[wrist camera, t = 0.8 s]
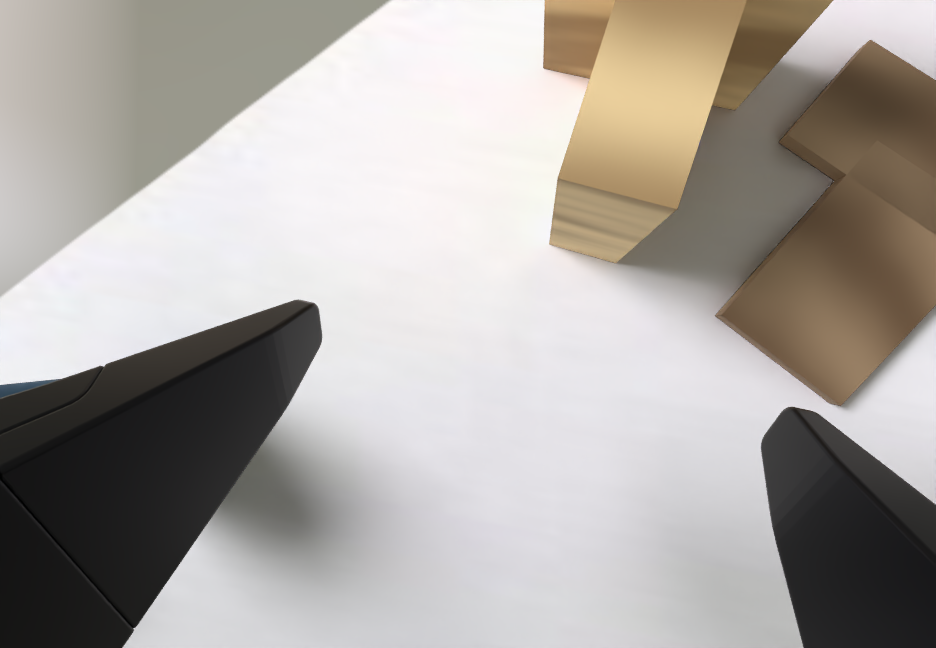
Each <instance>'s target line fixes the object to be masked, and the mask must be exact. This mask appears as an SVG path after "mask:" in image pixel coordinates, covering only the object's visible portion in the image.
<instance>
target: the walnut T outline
mask: <svg viewBox="0 0 936 648" xmlns="http://www.w3.org/2000/svg"><path fill="white" fill-rule="evenodd" d="M779 143H780V144H782V145H783V146H785V147H786V148H788V149H789V150H790V151H792V152H793V153H795V154H796V155H798V156H799V157H801V158H802V159H804V160H805V161H807V162H808V163H810V164H811V165H812V166H814V167H815V168H817V169H818V170H820V171H821V172H823V173H824V174H826V175H827V176H829V177H830V178H831V179H833V180H834V182H833V183H832V185H831V186H830V187H829V188H828V189H827V190H826V191H825V192H824V194H823V195H822V196H821V197H820V198H819V199H818V200H817V201H816V203H815V204H814V205H813V206H812V207H811V208H810V209H809V210H808V212H807V213H806V214H805V215H804V216H803V217H802V218H801V219H800V221H799V222H798V223H797V224H796V225H795V226H794V227H793V228H792V230H791V231H790V232H789V233H788V234H787V235H786V236H785V237H784V239H783V240H782V241H781V242H780V243H779V244H778V245H777V246H776V248H775V249H774V250H773V251H772V252H771V253H770V254H769V255H768V257H767V258H766V259H765V260H764V261H763V262H762V263H761V264H760V266H759V267H758V268H757V269H756V270H755V271H754V272H753V273H752V275H751V276H750V277H749V278H748V279H747V280H746V281H745V282H744V284H743V285H742V286H741V287H740V288H739V289H738V290H737V291H736V293H735V294H734V295H733V296H732V297H731V298H730V299H729V300H728V302H727V303H726V304H725V305H724V306H723V307H722V308H721V309H720V311H719V312H718V313H717V314H716V315H715V316H716V317H717V318H718V319H720V320H721V321H722V322H724V323H725V324H726V325H728V326H729V327H730V328H732V329H733V330H734V331H735V332H737V333H738V334H739V335H741V336H742V337H743V338H745V339H746V340H747V341H749V342H750V343H751V344H752V345H754V346H755V347H756V348H758V349H759V350H760V351H762V352H763V353H764V354H766V355H767V356H768V357H769V358H771V359H772V360H773V361H775V362H776V363H777V364H779V365H780V366H781V367H783V368H784V369H785V370H787V371H788V372H789V373H790V374H792V375H793V376H794V377H796V378H797V379H798V380H800V381H801V382H802V383H804V384H805V385H806V386H807V387H809V388H810V389H811V390H813V391H814V392H815V393H817V394H818V395H819V396H821V397H822V398H823V399H824V400H826V401H827V402H828V403H831V404H835V405H839V406H841V405H842V404H843V403H844V402H845V401H846V400H847V399H848V398H849V397H850V396H851V394H852V393H853V392H854V391H855V390H856V389H857V388H858V387H859V386H860V385H861V384H862V383H863V382H864V381H865V380H866V379H867V378H868V376H869V375H870V374H871V373H872V372H873V371H874V370H875V369H876V368H877V367H878V366H879V365H880V364H881V363H882V362H883V361H884V359H885V358H886V357H887V356H888V355H889V354H890V353H891V352H892V351H893V350H894V349H895V348H896V347H897V346H898V345H899V344H900V343H901V341H902V340H903V339H904V338H905V337H906V336H907V335H908V334H909V333H910V332H911V331H912V330H913V329H914V328H915V327H916V326H917V325H918V323H919V322H920V321H921V320H922V319H923V318H924V317H925V316H926V315H927V314H928V313H929V312H930V311H931V310H932V309H933V308H934V307H935V305H936V80H934V79H933V78H931V77H929V76H928V75H926V74H925V73H923V72H921V71H920V70H918V69H917V68H915V67H913V66H912V65H910V64H909V63H907V62H905V61H904V60H902V59H901V58H899V57H897V56H896V55H894V54H893V53H891V52H889V51H888V50H886V49H885V48H883V47H881V46H880V45H878V44H877V43H875V42H873V41H872V40H869V41H868V42H867V43H866V44H865V45H864V46H863V47H861V48H860V49H859V50H858V51H857V52H856V53H855V54H854V56H853V57H852V58H851V59H850V60H849V61H848V63H847V64H846V65H845V66H844V67H843V68H842V69H841V71H840V72H839V73H838V74H837V75H836V76H835V78H834V79H833V80H832V81H831V82H830V83H829V84H828V86H827V87H826V88H825V89H824V90H823V91H822V93H821V94H820V95H819V96H818V97H817V98H816V100H815V101H814V102H813V103H812V104H811V105H810V106H809V108H808V109H807V110H806V111H805V112H804V113H803V115H802V116H801V117H800V118H799V119H798V120H797V121H796V123H795V124H794V125H793V126H792V127H791V128H790V130H789V131H788V132H787V133H786V134H785V135H784V136H783V138H782V139H781V140H780V141H779Z"/></svg>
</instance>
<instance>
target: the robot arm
mask: <svg viewBox="0 0 936 648" xmlns="http://www.w3.org/2000/svg"><path fill="white" fill-rule="evenodd" d="M321 342H322V330H321V322H320V314H319V308H318V306H317V305H316V304H315V303H312V302H307V301H303V300H294V301H291V302H288V303H285V304H282V305H279V306H276V307H273V308H270V309H267V310H264V311H261V312H258V313H255V314H252V315H249V316H246V317H243V318H241V319H238V320H235V321H232V322H229V323H226V324H223V325H220V326H217V327H214V328H211V329H208V330H205V331H202V332H199V333H196V334H193V335H190V336H187V337H185V338H182V339H179V340H176V341H173V342H170V343H167V344H164V345H161V346H158V347H155V348H152V349H149V350H146V351H143V352H140V353H137V354H134V355H131V356H128V357H126V358H123V359H120V360H117V361H114V362H111V363H108V364H106V365H105V366H104V367H103V366H99V367H96V368H93V369H90V370H87V371H84V372H81V373H78V374H75V375H72V376H69V377H66V378H63V379H60V380H57V381H54V382H51V383H48V384H44V385H41V386H38V387H35V388H32V389H28V390H25V391H22V392H18V393H15V394H12V395H8V396H5V397H2V398H0V648H123V646H124V645H125V643H126V642H127V640H128V639H129V637H130V636H131V634H132V633H133V631H134V629H133V628H135V627H136V626H137V625H138V624H139V622H140V621H141V619H142V618H143V616H144V615H145V613H146V612H147V611H148V609H149V608H150V606H151V605H152V603H153V602H154V600H155V599H156V597H157V596H158V595H159V593H160V592H161V590H162V589H163V587H164V586H165V584H166V583H167V581H168V580H169V579H170V577H171V576H172V574H173V573H174V571H175V570H176V568H177V567H178V565H179V564H180V563H181V561H182V560H183V558H184V557H185V555H186V554H187V552H188V551H189V549H190V548H191V547H192V545H193V544H194V542H195V541H196V539H197V538H198V536H199V535H200V533H201V532H202V531H203V529H204V528H205V526H206V525H207V523H208V522H209V520H210V519H211V517H212V516H213V515H214V513H215V512H216V510H217V509H218V507H219V506H220V504H221V503H222V501H223V500H224V499H225V497H226V496H227V494H228V493H229V491H230V490H231V488H232V487H233V485H234V484H235V483H236V481H237V480H238V478H239V477H240V475H241V474H242V472H243V471H244V469H245V468H246V467H247V465H248V464H249V462H250V461H251V459H252V458H253V456H254V455H255V453H256V452H257V451H258V449H259V448H260V446H261V445H262V443H263V442H264V440H265V439H266V437H267V436H268V435H269V433H270V432H271V430H272V429H273V427H274V426H275V424H276V423H277V421H278V420H279V419H280V417H281V416H282V414H283V413H284V411H285V410H286V408H287V406H288V405H289V403H290V401H291V400H292V398H293V396H294V394H295V392H296V391H297V389H298V387H299V385H300V383H301V381H302V379H303V377H304V376H305V374H306V372H307V370H308V368H309V366H310V364H311V362H312V361H313V359H314V357H315V355H316V353H317V351H318V349H319V347H320V345H321ZM761 452H762V459H763V466H764V473H765V480H766V488H767V495H768V502H769V509H770V516H771V521H772V527H773V531H774V536H775V540H776V544H777V548H778V552H779V556H780V559H781V563H782V567H783V571H784V575H785V578H786V582H787V586H788V590H789V594H790V598H791V601H792V605H793V609H794V613H795V617H796V620H797V624H798V628H799V632H800V636H801V639H802V643H803V647H804V648H936V505H935V504H934V503H933V502H932V501H930V500H929V499H928V498H926V497H925V496H924V495H923V494H921V493H920V492H919V491H917V490H916V489H915V488H913V487H912V486H911V485H910V484H908V483H907V482H906V481H904V480H903V479H902V478H901V477H899V476H898V475H897V474H895V473H894V472H893V471H891V470H890V469H889V468H888V467H886V466H885V465H884V464H882V463H881V462H880V461H879V460H877V459H876V458H875V457H873V456H872V455H871V454H869V453H868V452H867V451H866V450H864V449H863V448H862V447H860V446H859V445H858V444H857V443H855V442H854V441H853V440H851V439H850V438H849V437H847V436H846V435H845V434H844V433H842V432H841V431H840V430H838V429H837V428H836V427H835V426H833V425H832V424H831V423H829V422H828V421H827V420H825V419H824V418H823V417H822V416H820V415H819V414H817V413H816V412H813V411H809V410H805V409H800V408H796V407H788V408H786V409H784V410H783V411H782V412H781V414H780V415H779V416H778V418H777V419H776V420H775V422H774V423H773V424H772V426H771V427H770V428H769V430H768V431H767V432H766V434H765V435H764V437H763V439H762V443H761Z"/></svg>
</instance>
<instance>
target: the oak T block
mask: <svg viewBox="0 0 936 648" xmlns="http://www.w3.org/2000/svg"><path fill="white" fill-rule="evenodd" d="M832 1H833V0H545V16H544V62H543V68H544V69H549V70H553V71H558V72H562V73H567V74H572V75H576V76H581V77H585V78H590V80H589V83H588V86H587V89H586V92H585V95H584V98H583V102H582V105H581V108H580V111H579V114H578V117H577V120H576V123H575V126H574V129H573V133H572V136H571V139H570V142H569V145H568V148H567V151H566V154H565V157H564V160H563V164H562V167H561V170H560V173H559V176H558V180H557V188H556V195H555V203H554V211H553V218H552V226H551V234H550V241H549V244H550V245H554V246H557V247H561V248H564V249H568V250H571V251H575V252H578V253H582V254H585V255H589V256H592V257H596V258H599V259H603V260H606V261H610V262H613V263H617V262H618V261H619V260H620V259H621V258H623V257H624V256H625V255H626V254H627V253H628V252H629V251H630V250H632V249H633V248H634V247H635V246H636V245H637V244H638V243H640V242H641V241H642V240H643V239H644V238H645V237H646V236H647V235H649V234H650V233H651V232H652V231H653V230H654V229H655V228H657V227H658V226H659V225H660V224H661V223H662V222H663V221H665V220H666V219H667V218H668V217H669V216H670V215H671V214H672V213H674V212H675V211H676V210H677V209H678V206H679V203H680V200H681V196H682V193H683V190H684V187H685V184H686V181H687V178H688V175H689V172H690V169H691V166H692V163H693V160H694V157H695V154H696V151H697V148H698V145H699V142H700V139H701V136H702V133H703V130H704V127H705V124H706V121H707V118H708V115H709V112H710V109H711V106H712V105H713V106H718V107H722V108H727V109H731V110H736V109H737V108H738V107H739V106H740V105H741V103H742V102H743V101H744V100H745V99H746V98H747V97H748V96H749V94H750V93H751V92H752V91H753V90H754V89H755V88H756V87H757V85H758V84H759V83H760V82H761V81H762V80H763V79H764V78H765V76H766V75H767V74H768V73H769V72H770V71H771V70H772V69H773V67H774V66H775V65H776V64H777V63H778V62H779V61H780V60H781V58H782V57H783V56H784V55H785V54H786V53H787V52H788V51H789V49H790V48H791V47H792V46H793V45H794V44H795V43H796V42H797V41H798V39H799V38H800V37H801V36H802V35H803V34H804V33H805V32H806V30H807V29H808V28H809V27H810V26H811V25H812V24H813V23H814V21H815V20H816V19H817V18H818V17H819V16H820V15H821V14H822V12H823V11H824V10H825V9H826V8H827V7H828V6H829V5H830V3H831V2H832Z"/></svg>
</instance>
